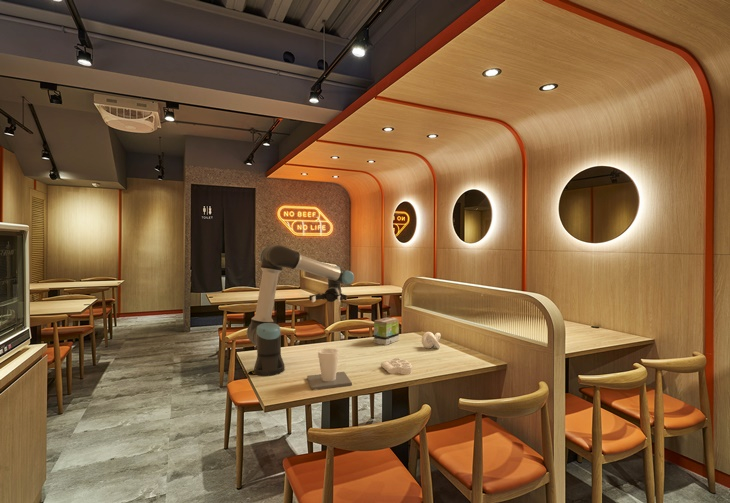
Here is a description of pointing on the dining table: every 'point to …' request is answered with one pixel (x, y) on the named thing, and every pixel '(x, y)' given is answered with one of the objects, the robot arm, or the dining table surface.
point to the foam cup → (328, 363)
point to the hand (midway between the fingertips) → (325, 299)
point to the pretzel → (431, 340)
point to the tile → (340, 381)
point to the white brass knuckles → (397, 366)
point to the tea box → (386, 330)
